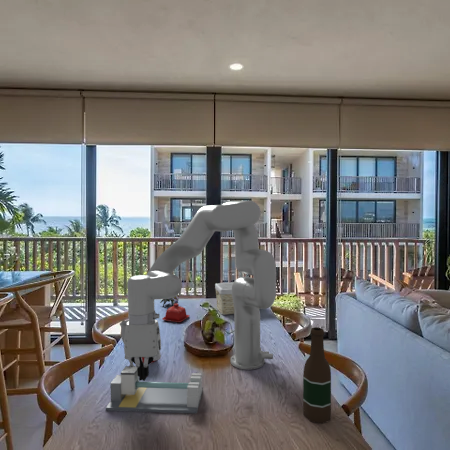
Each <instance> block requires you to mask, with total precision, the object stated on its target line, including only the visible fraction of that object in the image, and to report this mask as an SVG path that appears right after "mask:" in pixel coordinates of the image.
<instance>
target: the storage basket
mask: <svg viewBox="0 0 450 450" xmlns="http://www.w3.org/2000/svg"><path fill="white" fill-rule="evenodd" d="M233 283H234V281H233V282H219V283H217V282H216V283H215V284H214V286H215V287H214V289H215V295H216V296H215V297H216V308H217V310H218V311H219V313H220V314H221V315H223V316H224V315H225V316H226V315H234V304H233V298H232V285H233Z"/></svg>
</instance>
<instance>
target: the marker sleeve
mask: <svg viewBox="0 0 450 450" xmlns="http://www.w3.org/2000/svg"><path fill="white" fill-rule="evenodd" d="M120 375H121V394H128V395H135V393H136V392H137V390H138V388H139V387H135V382H136V381H137V382H140V381H139V376H138V372H137V367H136V365H134V366H130V365H125V367H124V368H123V369H122V370H121V372H120Z"/></svg>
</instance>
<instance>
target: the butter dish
mask: <svg viewBox="0 0 450 450" xmlns="http://www.w3.org/2000/svg"><path fill="white" fill-rule="evenodd" d="M189 317H191V316H190V315H189V314H187V309H186V308H185V307H183V306H180V305H179V303H175V304H174V306H173V305H172V306H170V307H168V309H166V311H165V316H164V317H162V318H161V320H163V321H167V322H174V323H182V322H184V321H185V320H186V319H188V318H189Z"/></svg>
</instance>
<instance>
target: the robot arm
mask: <svg viewBox="0 0 450 450" xmlns="http://www.w3.org/2000/svg"><path fill="white" fill-rule="evenodd" d="M261 214H262V213H261V208H260V206H259V204H258V203H256V201H253V200H230V201H226V202H224V203H222V204H214V205H213V204H211V205H210V204H209V205H208V204H207V205H204V206H202V207H200V208H199V209H198V210H197V211H196V213H195V214H194V216H193V218H192V219H190V221H189V223H188V225H187V226H186V228H185V229H184V231H183V232H182V233H181V235H180V236H179V238H178V239H177V240H176V241H175V242H173V243H172V244H171V245H170V246H168V247H167V248H166V249H165V250H164V251H162V253H161V254H160V255H159V256H158V257H157V258H156V260H155V261H154V263H153V264H152V265H151V266H150V268H149V270H148V271H147V273H146V274H139V275H133V276H131V277H129V278H128V280H127V307H128V308H127V310H128V315H127V317H128V320H129V321H128V322H127V324H126V330H125V339H124V343H123V352H124V359H125V360H127V361H129V360H132V362H133V364H134V365H135V366H136V367H137V372H138V376H139V382H146V379H147V378H148V377H149V374H150V364H152V363H151V362H152V361H155V360H156V361H159V360H161V358H162V354H161V349H162V340H161V339H162V338H161V330H160V325H159V321H158V320H157V319H160V313H157V312H156V310H155V309H156V308H155V300H163V299H170V298H173V297H175V296H177V295H179V294H180V293H181V290H182V288H183V284H182V281H181V279H180V278H179V277H178V276H177V275H176V274H173V272H174V271H175V270H176V269H177V268H178V267H179V266H180V265H181V264H183V263H184V262H187V261H189V260H192V259H194V258H195V257H198V256H199V255H200V254H202V252H203V251H204V249H205V247H206V246H207V244H208V242H209V241H210V239H211V238H212V236H213V235H214V233H216V232H223V233H224V232H229V231H232V232H233V234H234V251H235V256H234V258H235V259H234V260H235V262H234V263H235V268H236V269H237V271H238V272H240V273H242V274H245V275H250V276H253V277H250V276H241V277H238V278H236V279H235V280H234V281H233V282H234V283H233V285H232V298H233V304H234V314H233V315H234V316H233V318H234V320H233V321H234V322H233V323H234V324H233V326H234V327H233V329H234V334H233V335H234V354H233V355H232V356H230V364H231V365H232V366H233V367H235V368H237V369H241V370H246V371H247V370H256V369H260V368H261V367H264V365H265V362H266V361H265V360H274V354H273V353H270V351H263V350H262V347H261V313H260V309H261V310H267V309H270V308H271V307H272V306H273V304H275V303H274V302H275V301H276V296H277V263H276V259H275V257H274V255H273V254H272V253H271V252H269V251H268V250H266V249H265V250H264V249H260V247H259V233H258V230H257V228H256V223H258V221H260V218H261ZM142 357H145V358H144V363H143V362H142ZM156 361H155V362H156Z"/></svg>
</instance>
